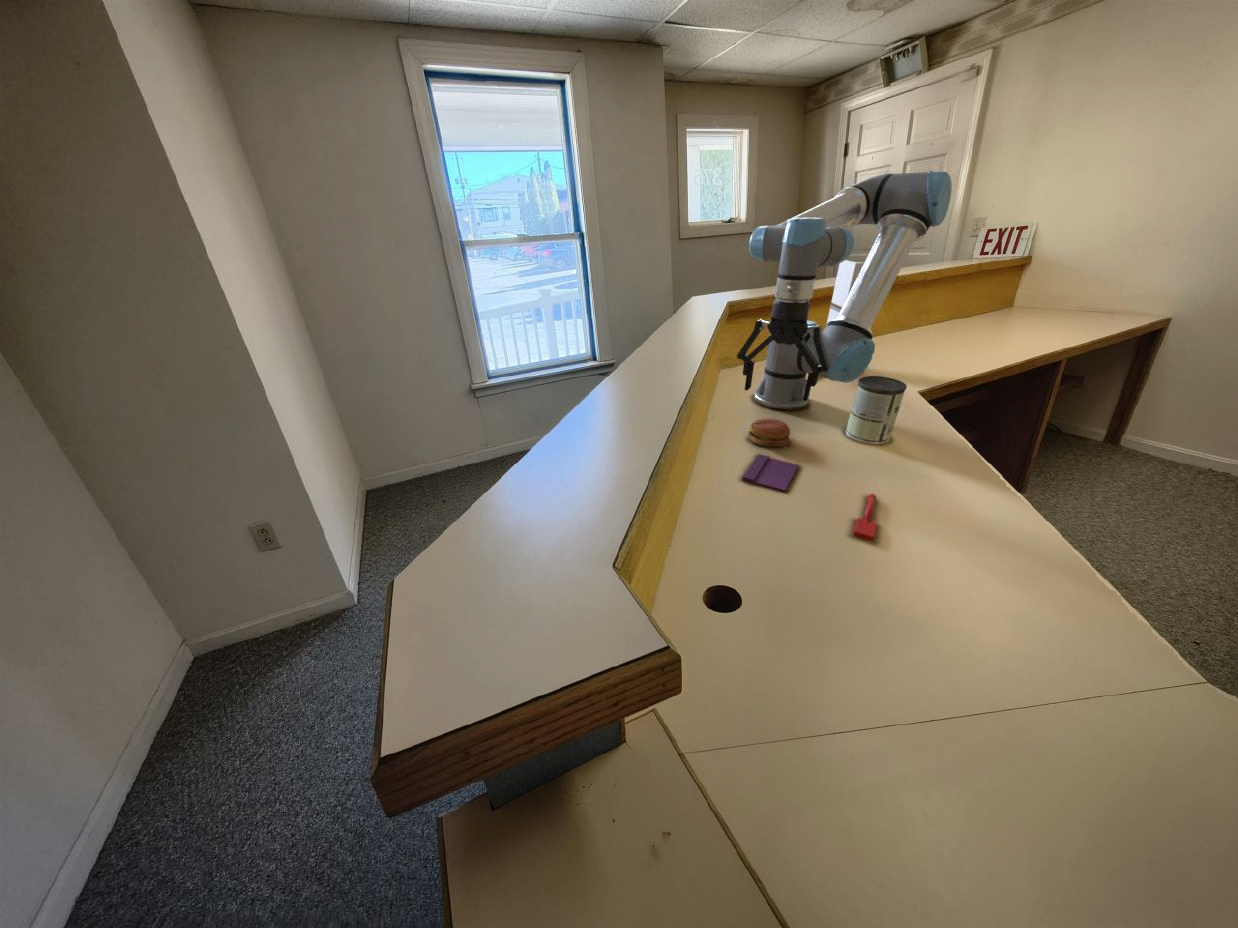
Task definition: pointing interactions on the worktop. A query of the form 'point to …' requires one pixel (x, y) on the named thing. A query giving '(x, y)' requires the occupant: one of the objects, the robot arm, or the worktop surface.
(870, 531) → the red spatula
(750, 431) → the burger
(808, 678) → the worktop surface
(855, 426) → the coffee can
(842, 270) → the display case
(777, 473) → the cloth
